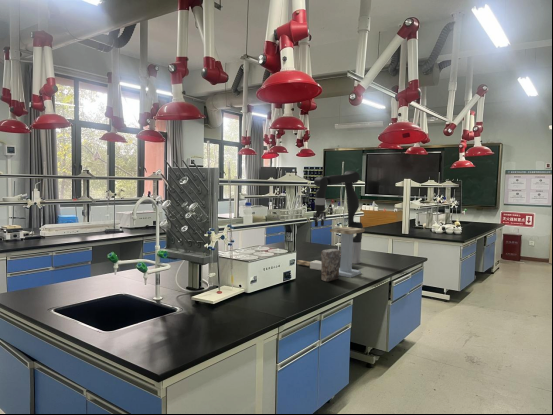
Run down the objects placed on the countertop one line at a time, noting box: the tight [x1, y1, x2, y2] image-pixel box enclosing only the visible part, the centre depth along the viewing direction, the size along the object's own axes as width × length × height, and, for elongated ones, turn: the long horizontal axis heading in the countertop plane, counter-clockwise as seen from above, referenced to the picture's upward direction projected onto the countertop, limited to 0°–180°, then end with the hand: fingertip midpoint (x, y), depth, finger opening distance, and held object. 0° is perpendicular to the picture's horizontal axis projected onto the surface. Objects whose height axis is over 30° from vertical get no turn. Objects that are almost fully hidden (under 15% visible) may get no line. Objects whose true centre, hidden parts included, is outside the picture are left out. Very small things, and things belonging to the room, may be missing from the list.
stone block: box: [320, 248, 341, 282], centre depth 254 cm, size 13×7×20 cm, turn 136°
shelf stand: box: [329, 226, 366, 279], centre depth 272 cm, size 16×22×32 cm
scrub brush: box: [296, 259, 322, 271], centre depth 290 cm, size 23×8×5 cm, turn 56°
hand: (319, 226), depth 282 cm, fingers open, 8 cm apart
